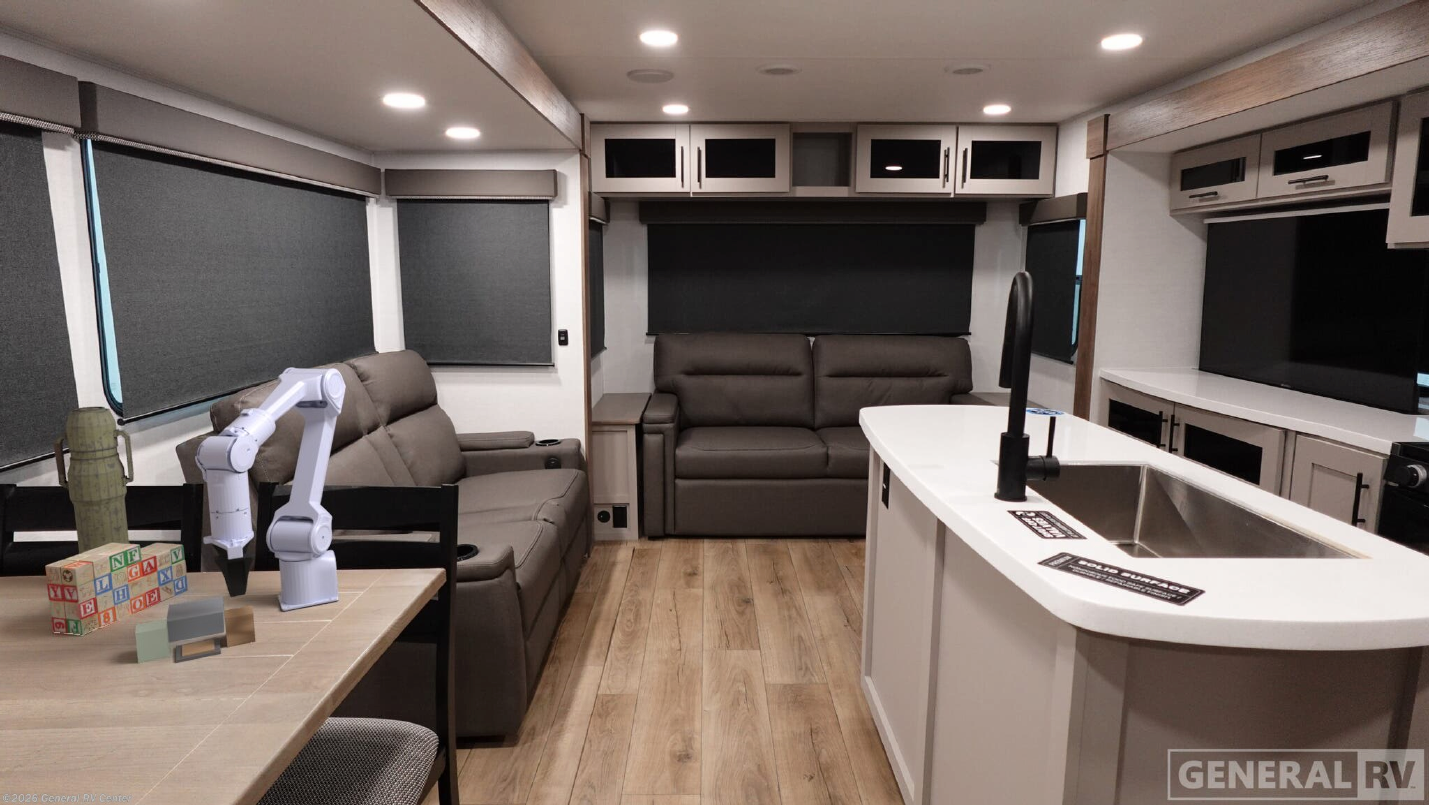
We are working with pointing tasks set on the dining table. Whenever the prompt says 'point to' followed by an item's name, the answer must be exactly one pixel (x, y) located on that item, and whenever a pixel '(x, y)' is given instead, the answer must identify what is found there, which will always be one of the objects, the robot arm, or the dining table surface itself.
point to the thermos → (95, 476)
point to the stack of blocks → (112, 584)
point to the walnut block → (239, 626)
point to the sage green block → (152, 641)
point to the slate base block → (195, 619)
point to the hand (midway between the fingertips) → (236, 588)
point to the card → (198, 649)
